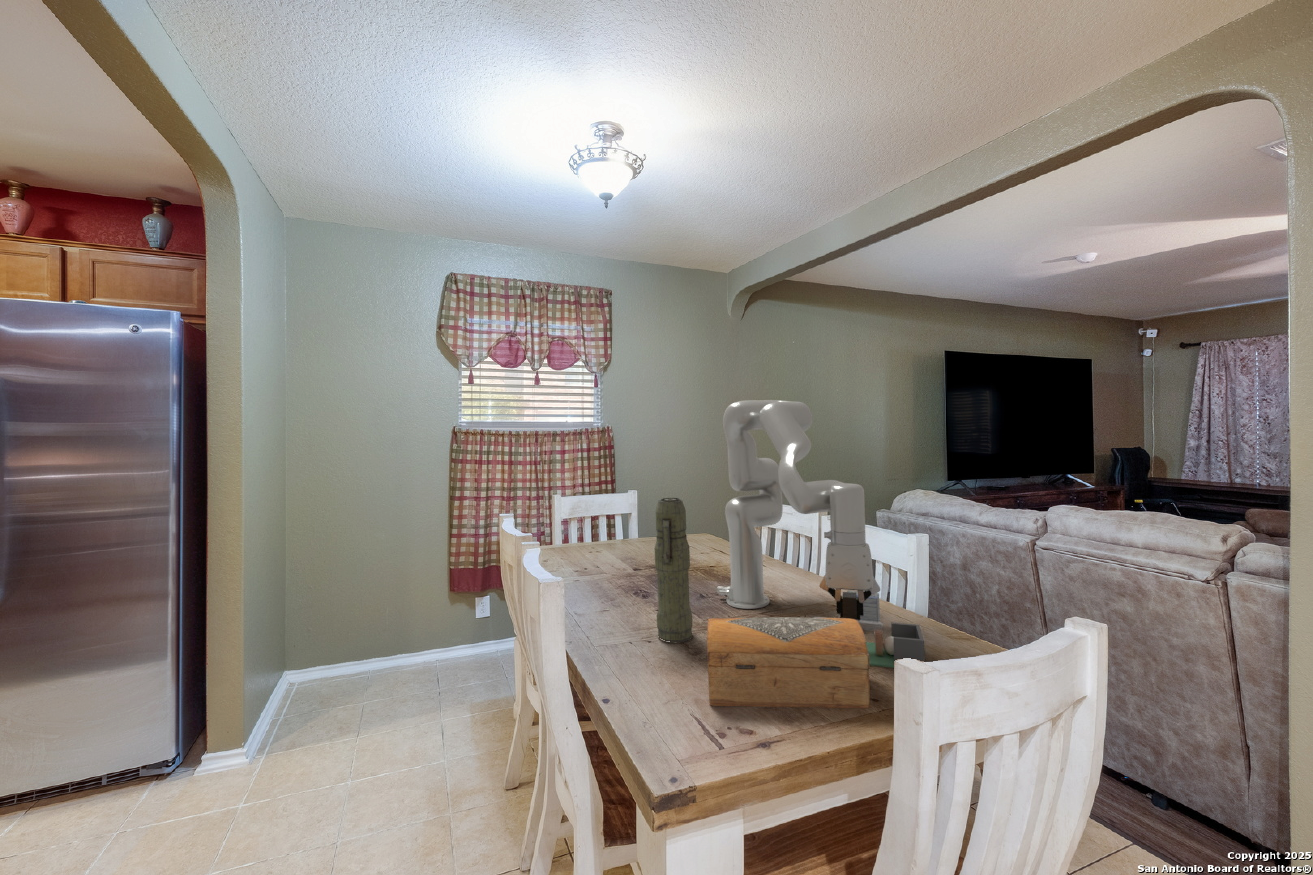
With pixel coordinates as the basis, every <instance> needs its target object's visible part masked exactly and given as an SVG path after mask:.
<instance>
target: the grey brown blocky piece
mask: <svg viewBox="0 0 1313 875" xmlns="http://www.w3.org/2000/svg"><path fill="white" fill-rule="evenodd" d="M841 596H842V601H843V618H849V619H855V620H857V596H856V593H853V592H847V591H842V595H841ZM813 618H825V617H824V616H814V617H813ZM857 621H858V622H859V624H860V625H861V627H862V630H863V631H869V632H874V643H875V650H876V655H883V642H884V635H883V622H881V621H880V622H874V621H861V620H857Z"/></svg>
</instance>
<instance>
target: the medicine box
mask: <svg viewBox="0 0 1313 875" xmlns="http://www.w3.org/2000/svg"><path fill="white" fill-rule="evenodd" d="M846 592H853V593H856V596H857V597H858V591H857V590H846ZM880 612H881V611H880V593H879V592H877V593H875V594H872V595H871V596H870V597H869V598H867V599H866V600H865V601H864V603H863V615H864V616H861V615H860V620H861V621H874V622H881V613H880Z"/></svg>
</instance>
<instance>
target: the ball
mask: <svg viewBox="0 0 1313 875" xmlns="http://www.w3.org/2000/svg"><path fill="white" fill-rule="evenodd" d="M883 647H884V650H885V651H886V652H887V653H888V654H890V655H894V639H893V636H887V637H886V638H885V639H883Z"/></svg>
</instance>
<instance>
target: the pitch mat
mask: <svg viewBox="0 0 1313 875" xmlns="http://www.w3.org/2000/svg"><path fill="white" fill-rule="evenodd" d="M866 646H867V650H868V654H869V660H870V666H874V667H883V668H893V669H895V668H894V655H890V654H888V653H887V652H886V651H885V650H884V647H883V655H876V650H875V642H872V641H871V642H870V641H866Z"/></svg>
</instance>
